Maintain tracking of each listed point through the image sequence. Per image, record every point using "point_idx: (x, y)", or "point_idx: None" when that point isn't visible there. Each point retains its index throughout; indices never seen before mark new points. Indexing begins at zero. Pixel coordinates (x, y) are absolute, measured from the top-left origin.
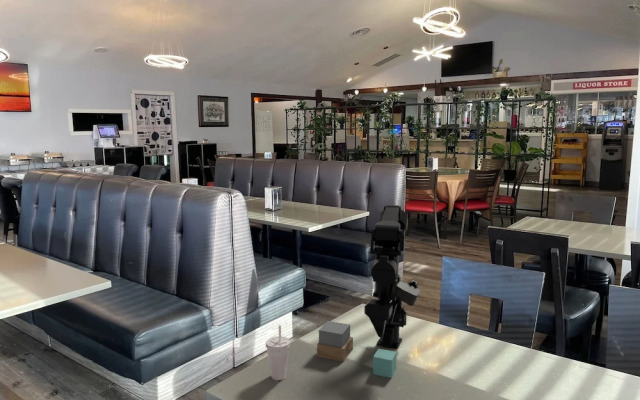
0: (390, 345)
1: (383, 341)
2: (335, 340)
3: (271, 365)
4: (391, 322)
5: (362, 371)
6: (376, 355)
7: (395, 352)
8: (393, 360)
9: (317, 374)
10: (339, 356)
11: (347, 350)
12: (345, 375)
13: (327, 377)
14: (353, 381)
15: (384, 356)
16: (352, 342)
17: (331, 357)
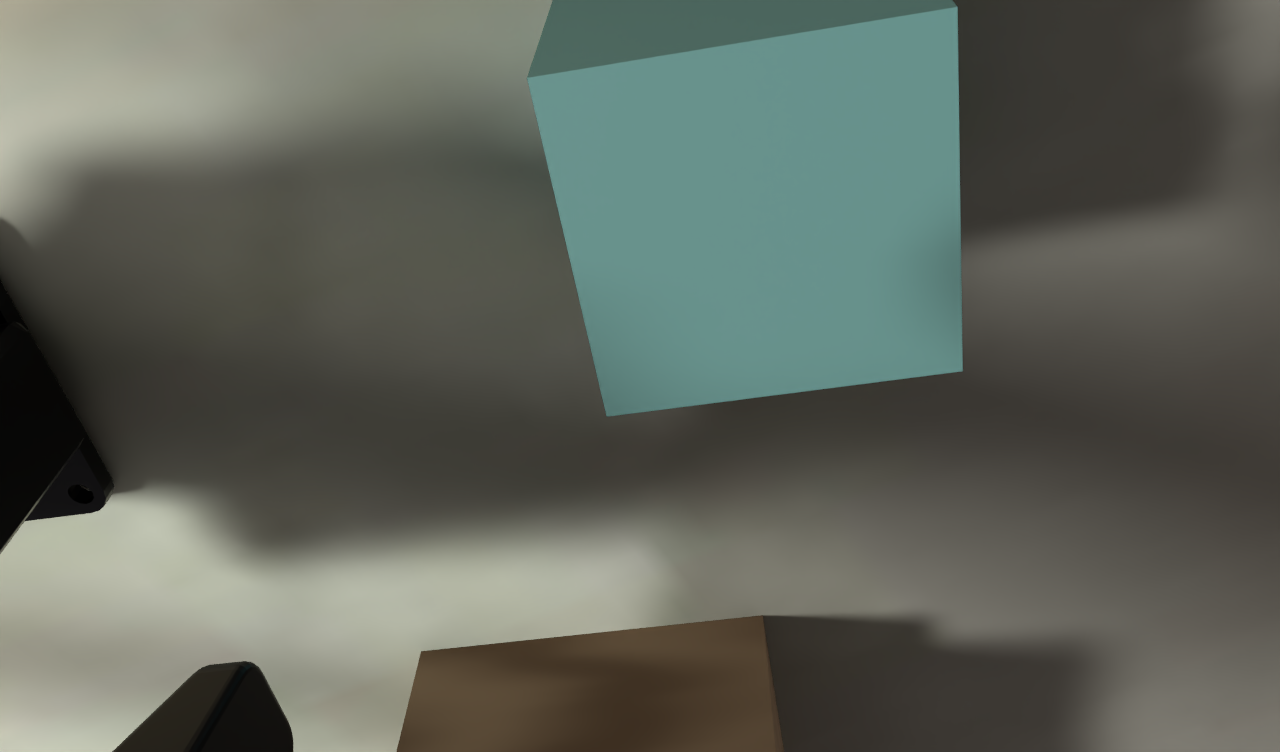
0: (20, 335)
1: (52, 457)
2: None
3: None
4: (241, 689)
5: None
6: (888, 345)
7: (563, 88)
8: (808, 10)
9: (1166, 696)
10: (772, 697)
11: (622, 694)
12: (1077, 480)
13: (1196, 604)
14: (1194, 349)
15: (854, 210)
16: (419, 730)
17: (781, 738)
